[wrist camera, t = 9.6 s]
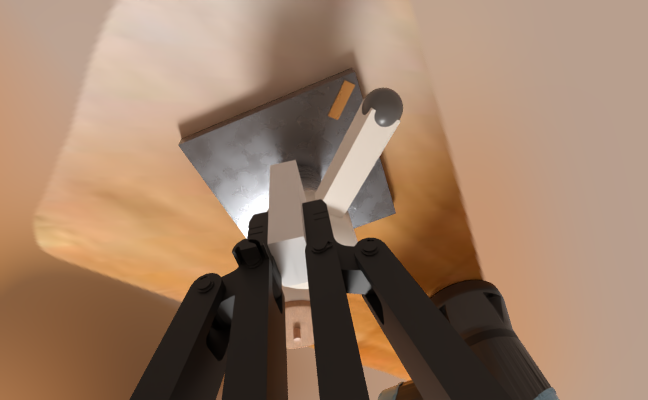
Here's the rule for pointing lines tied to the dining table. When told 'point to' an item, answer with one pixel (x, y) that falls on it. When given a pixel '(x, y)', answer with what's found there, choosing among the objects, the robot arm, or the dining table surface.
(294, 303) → the lidded jar
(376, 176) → the base
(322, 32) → the dining table surface
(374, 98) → the coupling lever handle
